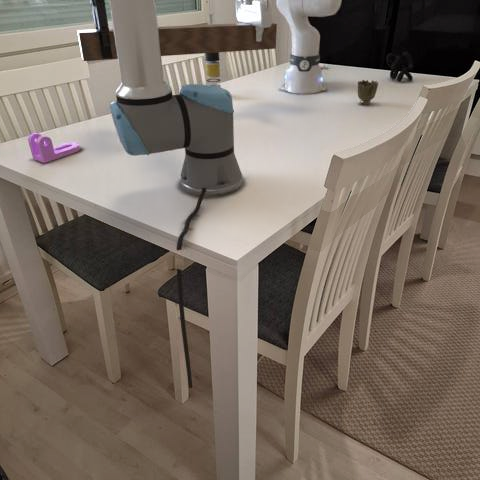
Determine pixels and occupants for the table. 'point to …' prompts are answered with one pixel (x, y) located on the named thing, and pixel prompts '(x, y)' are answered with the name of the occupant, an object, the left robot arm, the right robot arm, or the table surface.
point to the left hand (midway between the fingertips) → (106, 56)
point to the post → (189, 40)
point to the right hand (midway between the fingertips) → (253, 39)
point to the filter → (212, 63)
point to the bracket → (49, 148)
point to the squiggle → (399, 66)
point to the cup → (366, 91)
